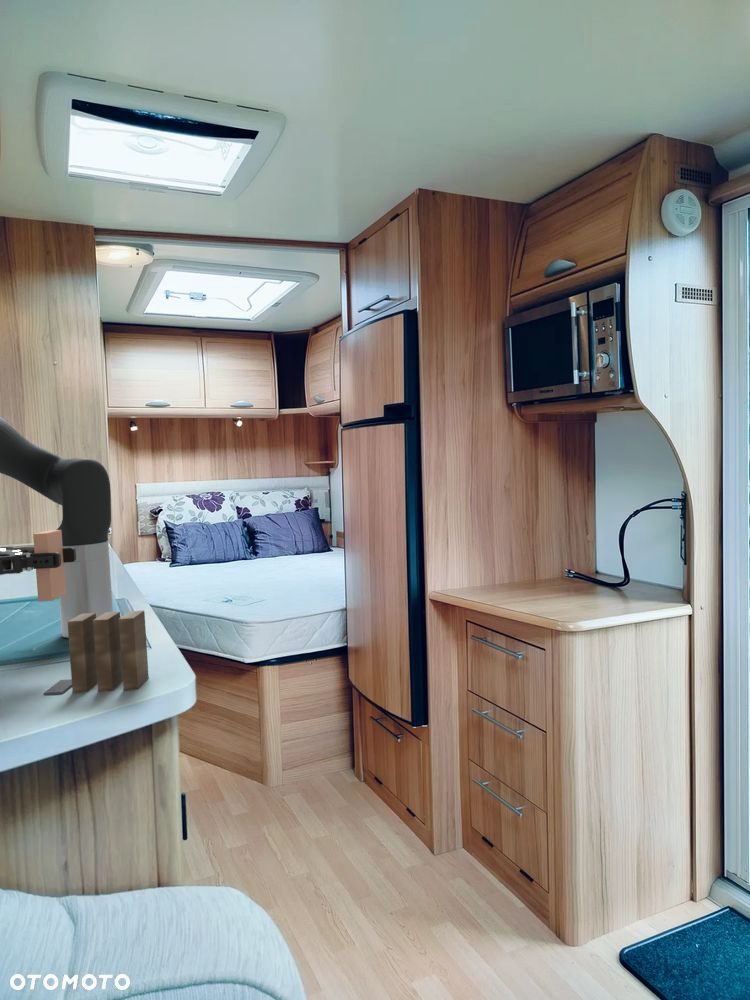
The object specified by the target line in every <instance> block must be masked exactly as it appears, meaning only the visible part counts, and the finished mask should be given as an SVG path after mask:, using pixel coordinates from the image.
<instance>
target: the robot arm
mask: <svg viewBox="0 0 750 1000" xmlns="http://www.w3.org/2000/svg"><path fill="white" fill-rule="evenodd" d="M0 474H2V475H5V476H7V477H10V478H12V479H14V480H16V481H18V482H20V483H22V484H23V485H24V486H26V487H28V488H30V489H32V490H34V491H35V492H37V493H39V495H42V496H43V497H45V498H47V499H48V500H50V501H51V502H54V503H55V504H58V505H60V506H62V520H61V523H60V525H59V527H58V528H56V530H61V531H62V544H63V561H64V571H65V584H66V595H63V596H61V597H59V598H58V600H59V614H60V616H59V617H60V629H61V631H60V632H61V636H62V638H67V639H69V635H68V621H70V620H71V619H73V618H75V617H77V616H79V615H80V614H85V613H96V618H98V617H99V616H101V615H103V614H104V613H106V612H114V610H113V609H114V606H113V593H112V592H113V591H112V578H111V563H110V562H111V561H110V551H109V550H110V548H109V531H110V528H111V524H112V498H111V496H112V494H111V482H110V481H111V480H110V478H109V477H110V476H109V474H108V472H107V469H106V468H105V466H104V465H103V464H102V463H101V462H99V461H98V460H96V459H94V458H89V457H76V458H69V457H64V456H61V455H59V454H56V453H54V452H51V451H48V450H47V449H45V448H42V447H40V446H38V445H36V444H35V443H33V442H31V441H30V440H28V439H27V438H26V437H24V435H22V434H21V433H20V432H19V431H18V430H17V429H16V428H15V427H14V426H12V425H11V424H10V423H9V422H8V421H7V420H5V419H4V418H2V417H1V416H0ZM60 566H61V555H60V553H58V552H52V553H34V545H27V546H26V545H22V546H13V545H6V546H0V576H4V575H17V574H21V573H23V572H24V571H25V572H31V571H32V570H36V569H43V568H57V567H60Z"/></svg>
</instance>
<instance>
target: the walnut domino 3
mask: <svg viewBox="0 0 750 1000" xmlns="http://www.w3.org/2000/svg"><path fill="white" fill-rule="evenodd" d="M119 629H120V644H121V660H122V675H123V681H122V686H123V691H128V690H129V691H132V690H139V689H140V688H141V687H142V686H143V685H144V683H146V681H147V680H148V679H149V677H150V676H149V662H148V647H147V644H148V643H147V631H146V618H145V610H143V609H142V610H130V611H128V612H127V613H125V614H123V615H122V616H120V618H119Z"/></svg>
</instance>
